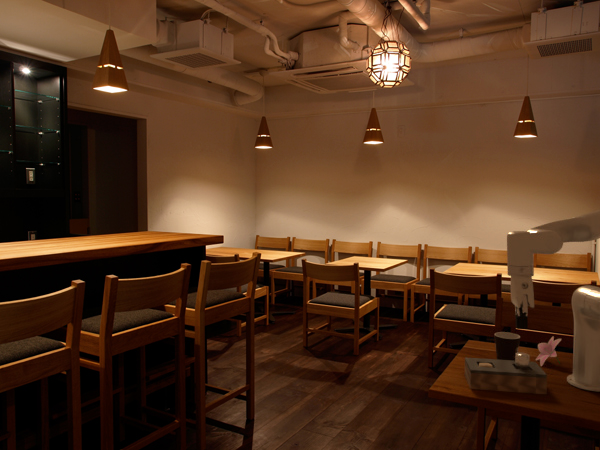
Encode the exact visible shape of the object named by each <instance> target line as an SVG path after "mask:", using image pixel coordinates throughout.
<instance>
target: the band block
mask: <svg viewBox="0 0 600 450" xmlns="http://www.w3.org/2000/svg"><path fill="white" fill-rule="evenodd" d="M479 363H489V364H491V365H492V368H491V367H479ZM464 377H465V380H466V382H467V385H468V386H469V389H470V390H482V391H494V392H495V391H496V392H510V393H511V392H512V393H525V394H537V395H547V388H548V387H547V386H548V382H547V381H548V374H547V373H546V372H545V371H544V369H543V368H542V367H541V366H540V364H539V365H538V363H537V362H536V361H531V360H529V370H522V369H515V361H514V360H497V358H494V359H493V358H481V357H480V358H478V357H464Z"/></svg>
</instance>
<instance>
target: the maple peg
mask: <svg viewBox="0 0 600 450" xmlns="http://www.w3.org/2000/svg"><path fill="white" fill-rule="evenodd" d="M479 367H491V368H492V365H491V364H489V363H479Z"/></svg>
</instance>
